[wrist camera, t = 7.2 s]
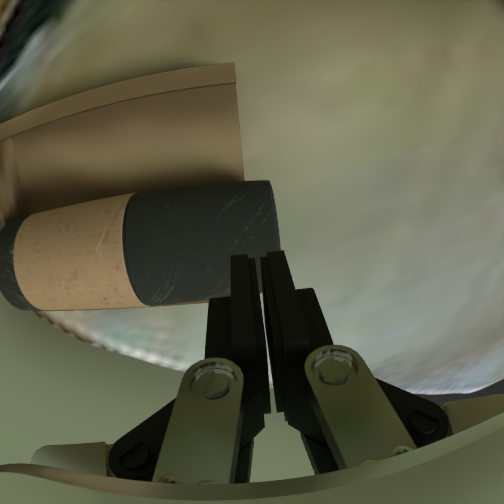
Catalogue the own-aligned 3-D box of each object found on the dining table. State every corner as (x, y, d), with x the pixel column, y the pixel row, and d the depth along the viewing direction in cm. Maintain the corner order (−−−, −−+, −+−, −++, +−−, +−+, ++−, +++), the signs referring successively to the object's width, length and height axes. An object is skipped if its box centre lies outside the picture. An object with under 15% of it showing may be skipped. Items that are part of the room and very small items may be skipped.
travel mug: (286, 311, 17) (5, 325, 17) (274, 278, 25) (55, 296, 25) (273, 169, 16) (-15, 221, 16) (264, 179, 23) (41, 214, 23)
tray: (2, 127, 18) (-27, 137, 15) (234, 68, 19) (234, 62, 15) (50, 286, 26) (32, 311, 23) (252, 269, 26) (255, 298, 23)
